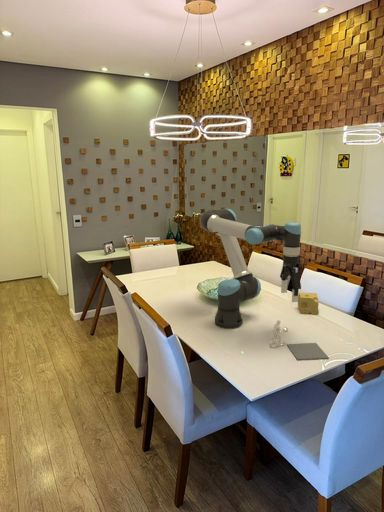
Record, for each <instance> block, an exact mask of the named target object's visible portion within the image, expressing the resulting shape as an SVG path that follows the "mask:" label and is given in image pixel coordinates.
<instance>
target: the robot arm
mask: <svg viewBox="0 0 384 512" xmlns="http://www.w3.org/2000/svg"><path fill="white" fill-rule="evenodd" d="M199 224H200V227H201V228H202V229H203V230H205V231H206V232H210V233H215V235H216V236H219V238H220V240H221V244H222V245H223V249H224V251H225V254H226V257H227V259H228V262H229V265H230V269H231V271H232V274H233V277H232V278H228V279H227V278H226V279H223V280H222V281H220V282H219V283H218V284H217V311H216V313H215V315H214V316H215V317H214V325H215V326H217V327H218V328H222V329H229V330H230V329H237V328H240V327H242V325H244V323H243V317H242V313H241V310H240V306H241V303H242V302H245V301H248V300H253V299H255V298H256V297H258V296H259V294H260V292H261V290H262V285H261V282H260V280H259V279H258V278H257V277H256V276H254V275H253V273H252V271H250V270H249V268H248V266H247V263H246V260H245V258H244V255H243V254H244V253H243V252H242V249H241V246H240V243H239V241H238V239H240V240H241V239H242V240H245V241H246V242H247V243H248V244H249V245H258V244H265V243H268V242H273V241H276V242H277V241H278V242H282V243H283V250H282V253H283V255H282V267H281V271H280V275H279V278H280V279H281V285H280V286H281V290H280V292H281V294H287V293H288V281H289V280H288V277H290V278H291V279H290V280H291V283H292V289H291V291H292V292H291V293H292V294H291V303H298V295H299V290H301V289H302V284H301V277H300V267H297V265H298V264H299V263H300V252H301V235H302V227H301V223H299V222H293V221H292V222H286V223H285V224H284V225H279V224H273V223H272V224H270V223H269V224H265V226H255V225H251V224H247V223H243V222H239V221H238V218H237V215H236V213H235V212H234V210H232V209H230V208H219V209H209V210H206V211H204V212H202V214H201V215H200V217H199Z"/></svg>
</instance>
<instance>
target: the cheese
mask: <svg viewBox="0 0 384 512" xmlns="http://www.w3.org/2000/svg"><path fill="white" fill-rule="evenodd" d="M297 307H298V310H299V314H302V315H308V314H310V315H315V316H317V315H319V296H318V293H317V292H298V302H297Z"/></svg>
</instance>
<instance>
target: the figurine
mask: <svg viewBox="0 0 384 512" xmlns="http://www.w3.org/2000/svg"><path fill="white" fill-rule="evenodd" d="M280 324H281V320H279V319H277V320H276V324H274V329H273V331H272V338H271V341H270V342H269V344H270V345H269V347H270V348H271V349H273V348H274V349H275V348H277V347H279V346H281V347H283V346H284V343H283V342H281V341H282V336H281V334H280V333H288V332H289V328H288V327H284V328H282V329H281V326H280ZM276 338H278V340H277V342H275V340H276Z"/></svg>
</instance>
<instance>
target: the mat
mask: <svg viewBox="0 0 384 512" xmlns="http://www.w3.org/2000/svg"><path fill="white" fill-rule="evenodd" d="M286 346H287V348H288V349H289V350H290V352H291V353H292V355H293V357H294V358H295V359H296V360H297V361H308V360H309V361H312V360H329V359H330V357H329V356H328V355H327V354H326V352H325V351H324V350H323V349H322V347H320V345H318V344H317V342H306V343H303V342H302V343H286Z"/></svg>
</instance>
